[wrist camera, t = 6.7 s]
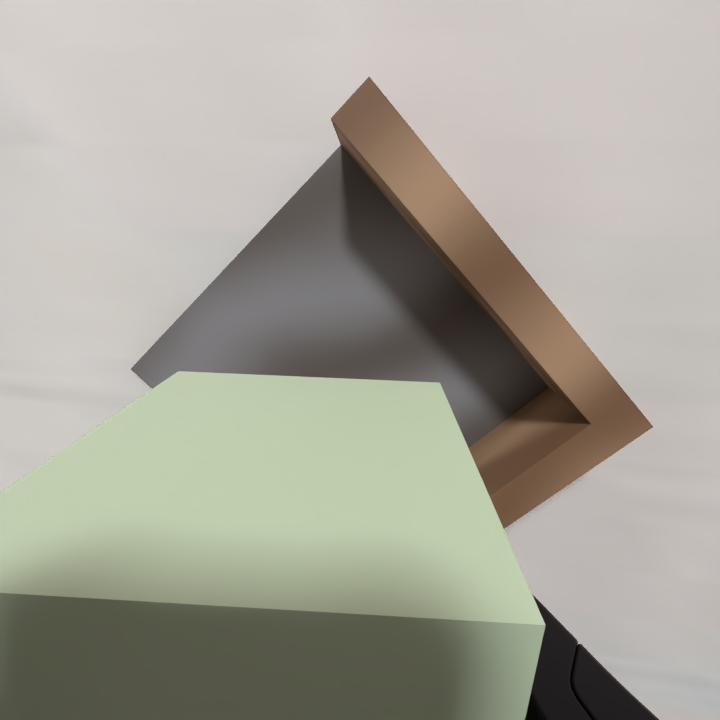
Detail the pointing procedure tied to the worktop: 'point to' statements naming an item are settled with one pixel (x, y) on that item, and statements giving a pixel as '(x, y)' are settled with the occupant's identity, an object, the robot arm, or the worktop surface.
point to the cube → (264, 562)
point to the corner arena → (409, 312)
